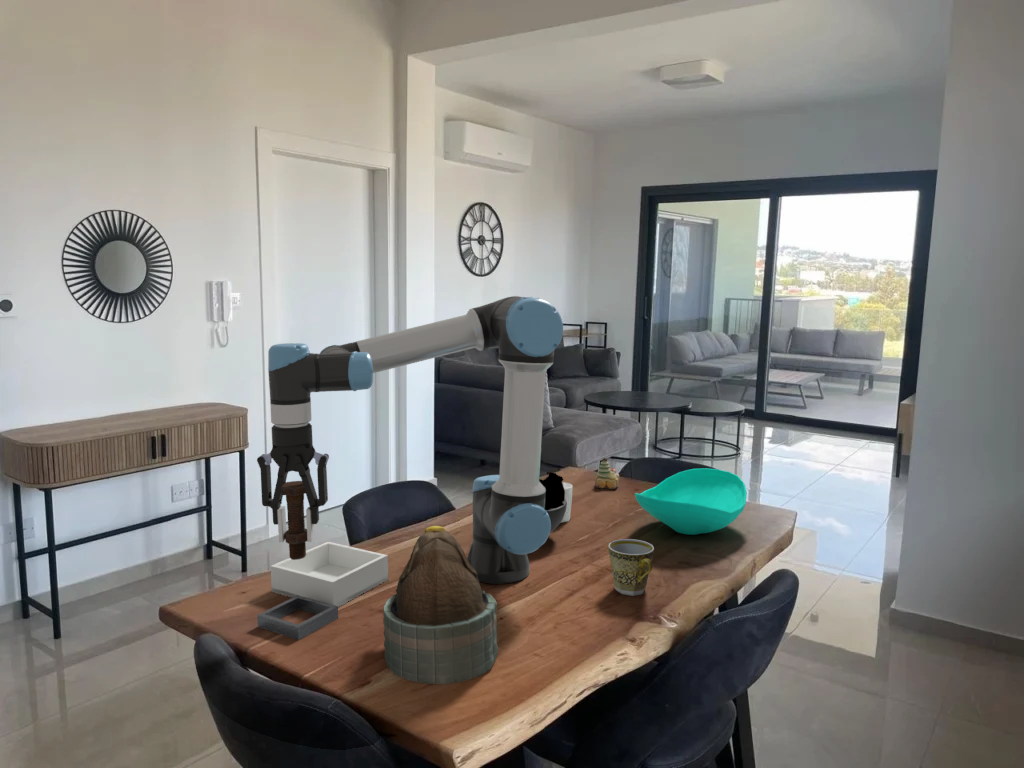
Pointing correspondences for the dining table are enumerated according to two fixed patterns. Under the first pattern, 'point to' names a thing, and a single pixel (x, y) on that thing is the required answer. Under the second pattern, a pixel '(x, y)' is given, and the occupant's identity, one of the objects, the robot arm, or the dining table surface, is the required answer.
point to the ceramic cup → (630, 565)
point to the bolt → (295, 519)
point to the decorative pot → (439, 616)
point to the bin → (330, 573)
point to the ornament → (606, 476)
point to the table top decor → (696, 500)
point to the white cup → (568, 499)
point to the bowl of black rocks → (554, 499)
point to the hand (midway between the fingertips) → (297, 539)
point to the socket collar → (298, 631)
